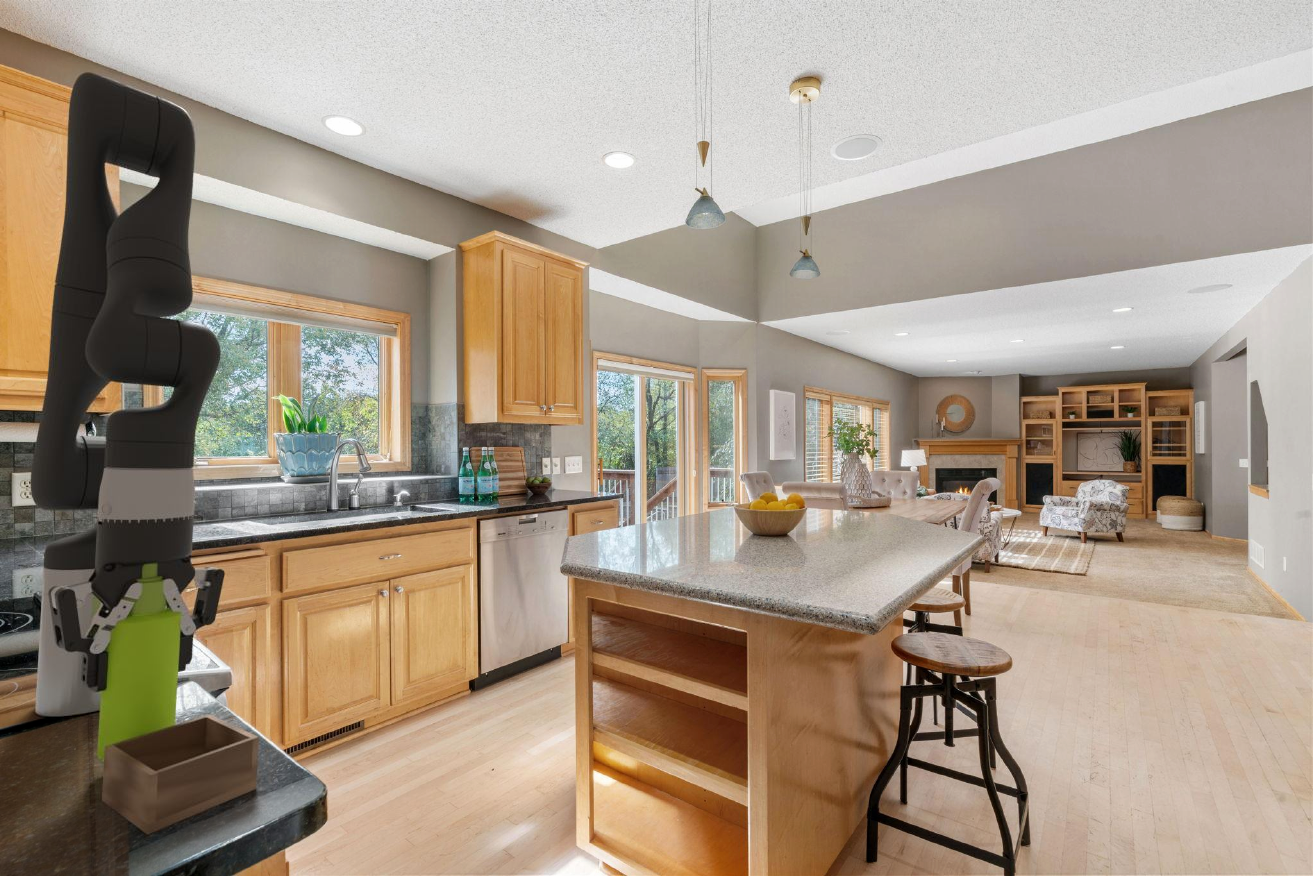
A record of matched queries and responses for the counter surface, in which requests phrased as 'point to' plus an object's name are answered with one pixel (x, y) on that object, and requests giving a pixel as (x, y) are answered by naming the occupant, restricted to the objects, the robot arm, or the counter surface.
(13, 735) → the counter surface
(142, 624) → the soap dispenser
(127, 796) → the walnut caddy
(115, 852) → the counter surface
